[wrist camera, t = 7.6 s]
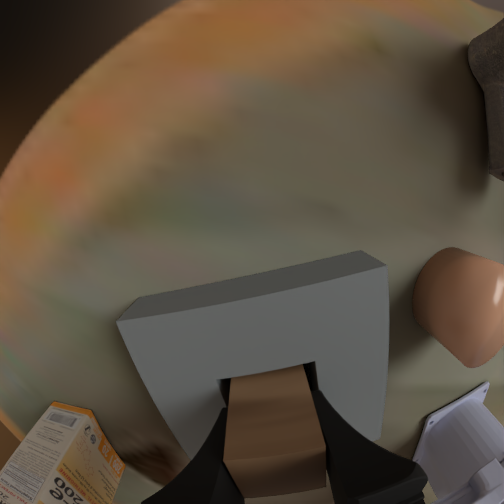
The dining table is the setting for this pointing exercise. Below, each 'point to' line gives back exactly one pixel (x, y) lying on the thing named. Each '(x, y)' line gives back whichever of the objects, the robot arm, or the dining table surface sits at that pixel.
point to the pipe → (491, 89)
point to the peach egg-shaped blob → (462, 304)
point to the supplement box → (62, 462)
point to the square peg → (274, 434)
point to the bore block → (266, 341)
